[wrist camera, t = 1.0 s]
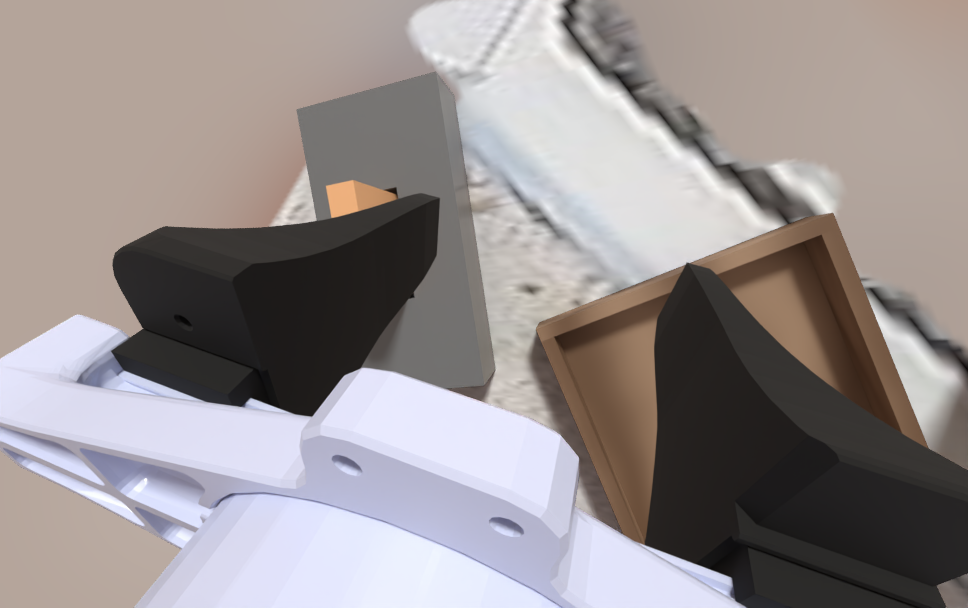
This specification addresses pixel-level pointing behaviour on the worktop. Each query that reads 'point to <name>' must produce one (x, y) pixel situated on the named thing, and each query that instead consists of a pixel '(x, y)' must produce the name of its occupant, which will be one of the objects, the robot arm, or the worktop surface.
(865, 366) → the tray
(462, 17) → the worktop surface
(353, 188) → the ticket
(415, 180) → the dispenser
